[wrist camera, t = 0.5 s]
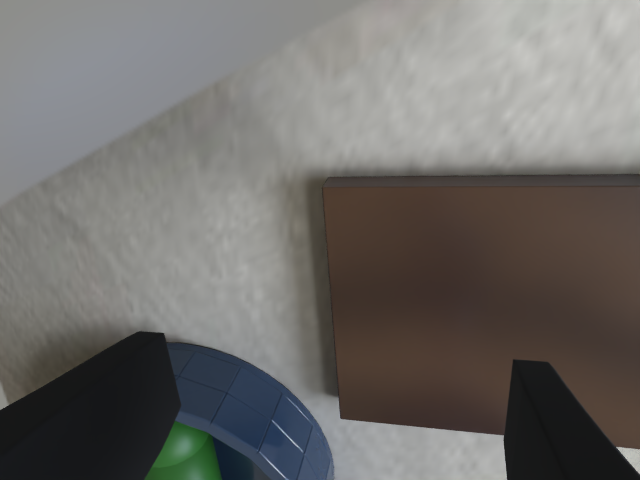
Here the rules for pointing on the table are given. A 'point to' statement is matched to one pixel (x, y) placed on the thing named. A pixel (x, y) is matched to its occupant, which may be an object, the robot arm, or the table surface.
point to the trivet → (484, 295)
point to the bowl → (248, 418)
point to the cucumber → (186, 456)
